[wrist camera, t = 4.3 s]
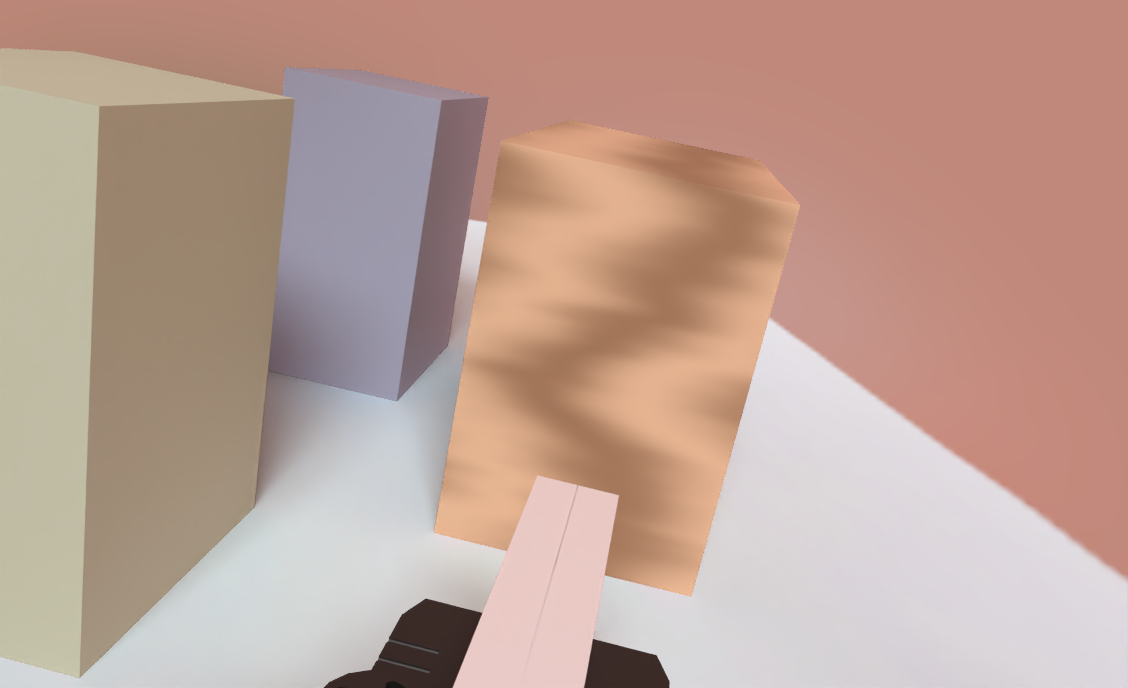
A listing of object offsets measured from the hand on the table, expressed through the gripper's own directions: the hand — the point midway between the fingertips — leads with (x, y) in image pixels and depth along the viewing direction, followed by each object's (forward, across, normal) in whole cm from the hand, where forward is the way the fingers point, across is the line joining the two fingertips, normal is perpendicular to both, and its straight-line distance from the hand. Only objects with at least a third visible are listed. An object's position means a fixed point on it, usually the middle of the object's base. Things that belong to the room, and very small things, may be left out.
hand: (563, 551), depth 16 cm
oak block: (+16, 0, -6) cm, 17 cm away
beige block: (+4, -12, -6) cm, 15 cm away
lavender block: (+22, -11, -6) cm, 26 cm away
